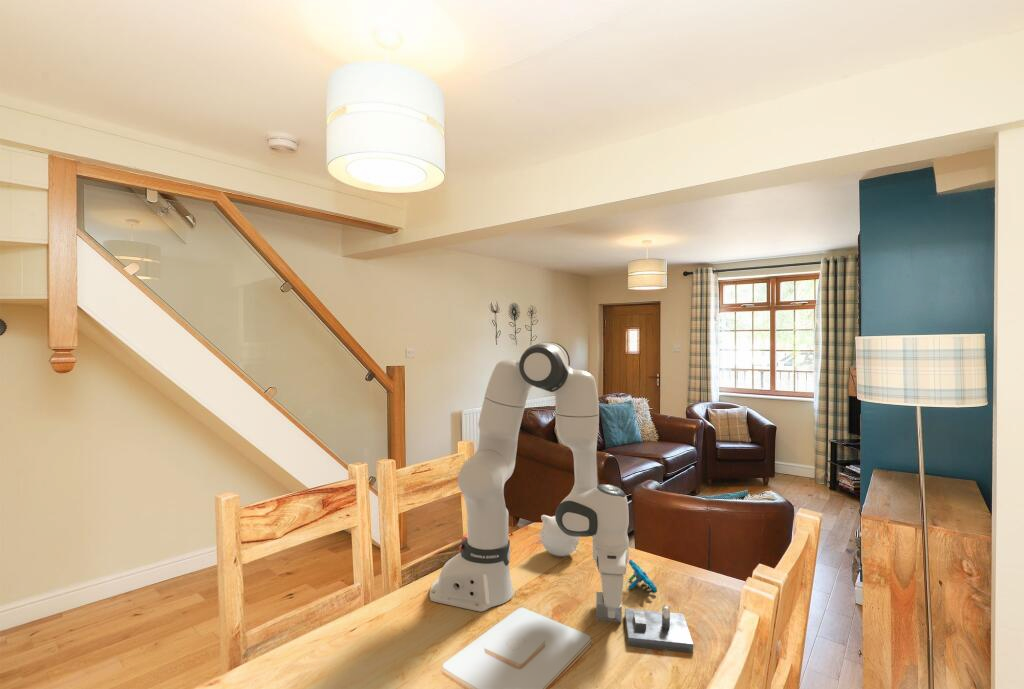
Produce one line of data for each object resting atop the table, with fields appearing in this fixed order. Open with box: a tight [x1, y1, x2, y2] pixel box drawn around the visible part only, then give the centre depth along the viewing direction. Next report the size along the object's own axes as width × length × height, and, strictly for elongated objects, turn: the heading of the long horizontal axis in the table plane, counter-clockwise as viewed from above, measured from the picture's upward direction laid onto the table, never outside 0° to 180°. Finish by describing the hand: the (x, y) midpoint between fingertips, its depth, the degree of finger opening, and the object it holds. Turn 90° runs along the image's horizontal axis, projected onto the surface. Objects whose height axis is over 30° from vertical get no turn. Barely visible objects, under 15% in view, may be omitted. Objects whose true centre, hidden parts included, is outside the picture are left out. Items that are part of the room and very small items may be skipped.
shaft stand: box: [624, 604, 694, 654], centre depth 118 cm, size 14×12×6 cm
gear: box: [628, 559, 658, 593], centre depth 139 cm, size 11×6×10 cm
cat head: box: [533, 514, 580, 557], centre depth 159 cm, size 15×13×12 cm
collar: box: [595, 591, 623, 624], centre depth 126 cm, size 6×6×4 cm
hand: (610, 605), depth 126 cm, fingers open, 8 cm apart
